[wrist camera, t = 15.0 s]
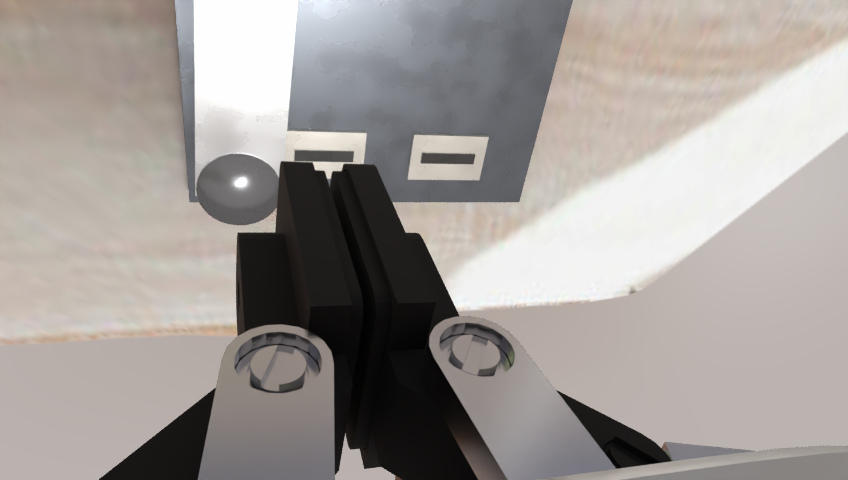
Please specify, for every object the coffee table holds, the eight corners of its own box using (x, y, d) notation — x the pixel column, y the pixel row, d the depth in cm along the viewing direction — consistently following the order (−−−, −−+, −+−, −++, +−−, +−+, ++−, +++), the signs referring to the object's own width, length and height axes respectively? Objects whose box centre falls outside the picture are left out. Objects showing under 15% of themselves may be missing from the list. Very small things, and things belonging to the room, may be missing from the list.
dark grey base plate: (191, 189, 40) (187, 221, 37) (170, -92, 31) (163, -80, 28) (511, 191, 46) (530, 218, 43) (571, -44, 37) (600, -30, 34)
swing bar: (277, 205, 37) (279, 226, 36) (197, 202, 36) (195, 223, 34) (309, -215, 26) (314, -215, 24) (195, -243, 25) (192, -245, 23)
